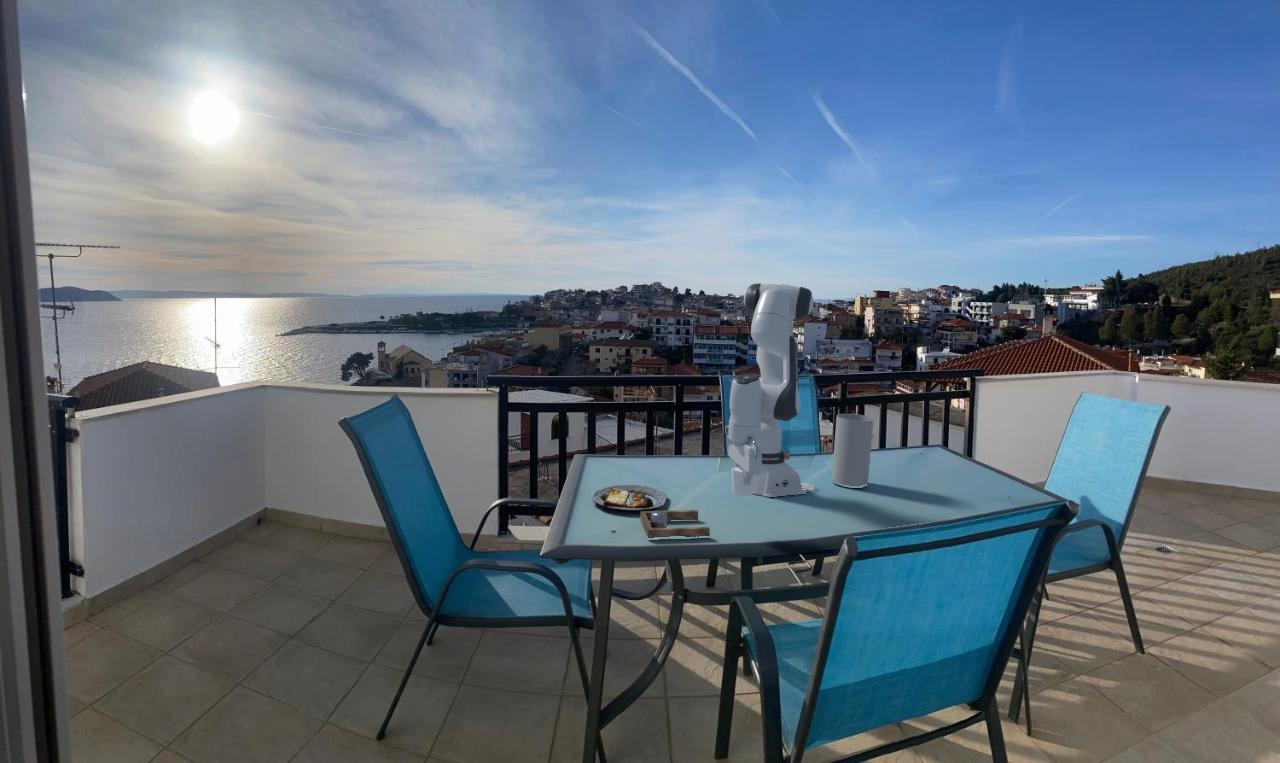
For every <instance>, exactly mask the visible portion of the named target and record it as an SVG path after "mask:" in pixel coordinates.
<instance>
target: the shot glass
mask: <svg viewBox="0 0 1280 763" xmlns="http://www.w3.org/2000/svg"><path fill="white" fill-rule="evenodd" d="M730 472H731V483H732V486H731V487H732V494H733V495H735V496H739V497H750V496H752V495H754V494H753V487H754V479H755V475H753V476H752V478H751V485H745V484H744V476H745V473H744V470H743V469H742V468H741V467H740V466H735V465H734V466H733V467H731V471H730Z"/></svg>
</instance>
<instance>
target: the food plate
mask: <svg viewBox="0 0 1280 763" xmlns="http://www.w3.org/2000/svg"><path fill="white" fill-rule="evenodd" d="M629 492H630V493H634V494H631V497H632V500H633V501H631V500H630V501H631V502H629V503H630V504H626V502H627V499H628V496H630V494H629ZM645 495H648V496H651V497H653V498H654V499H655V500H656V502H657V503H656V504H655V505H653V501H654V500H653V501H652V498H650V497H648V496H647V497H644V496H645ZM643 497H644V498H643ZM642 498H643V499H645V500H643V501H642V500H641V499H642ZM667 498H668V493H666V492H664V491H662V490H660V489H658V488H654V487H650V486H647V485H646V486H645V485H640V484H637V485H636V484H634V485H633V484H623V485H622V484H620V485H610V486H606V487H605V486H604V487H603V488H601V489H597V490H596V492H594V495H593V497H592V498H591V499H592V502H593V503H595V504H597V505H599V506H600V507H602V508H603V507H604V508H607V509H610V510H611V509H613V510H621V511H626V512H632V511H633V512H635V511H651V510H656V509H659V507H660V508H662V507H663V506H665V503H666V501H667ZM640 500H641V501H640ZM658 503H659V504H658Z"/></svg>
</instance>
